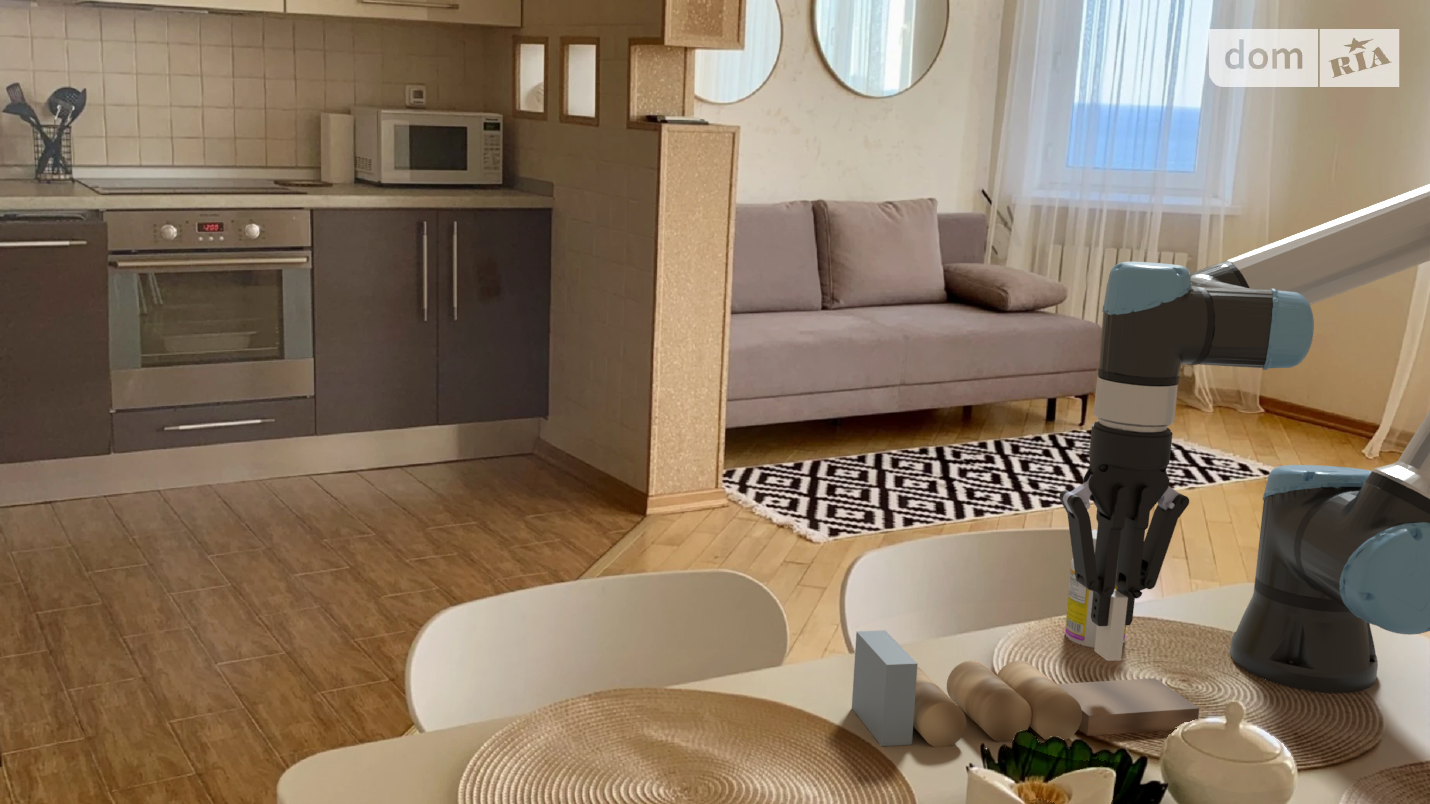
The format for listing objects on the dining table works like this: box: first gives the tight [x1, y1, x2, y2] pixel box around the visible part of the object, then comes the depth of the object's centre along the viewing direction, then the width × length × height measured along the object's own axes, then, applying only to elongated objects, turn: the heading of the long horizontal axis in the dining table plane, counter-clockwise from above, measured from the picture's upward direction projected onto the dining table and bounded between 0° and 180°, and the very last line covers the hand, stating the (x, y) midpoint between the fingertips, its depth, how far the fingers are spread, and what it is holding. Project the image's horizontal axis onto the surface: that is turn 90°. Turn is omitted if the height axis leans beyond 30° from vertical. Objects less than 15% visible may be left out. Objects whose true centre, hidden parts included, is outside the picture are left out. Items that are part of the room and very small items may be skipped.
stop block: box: [851, 629, 918, 747], centre depth 135 cm, size 3×9×8 cm, turn 12°
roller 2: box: [946, 660, 1032, 743], centre depth 137 cm, size 9×5×5 cm
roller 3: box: [996, 659, 1082, 741], centre depth 138 cm, size 9×5×5 cm, turn 15°
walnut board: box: [1056, 677, 1200, 737], centre depth 141 cm, size 12×8×2 cm, turn 104°
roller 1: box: [913, 666, 967, 748], centre depth 136 cm, size 10×4×4 cm
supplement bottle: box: [1064, 529, 1127, 649], centre depth 160 cm, size 7×7×13 cm
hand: (1107, 655), depth 140 cm, fingers closed
